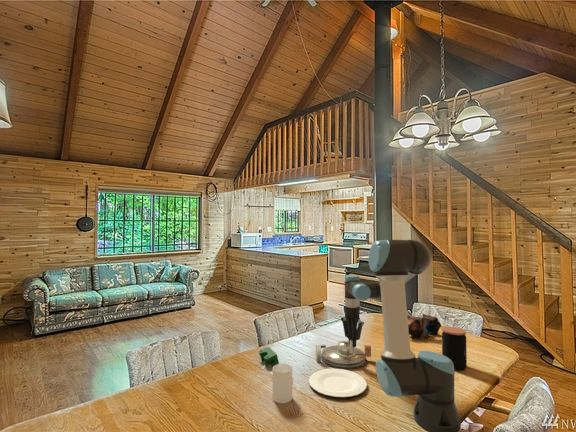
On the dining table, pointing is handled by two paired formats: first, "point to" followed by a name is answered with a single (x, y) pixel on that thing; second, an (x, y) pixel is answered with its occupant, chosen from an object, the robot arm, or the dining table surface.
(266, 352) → the clamp
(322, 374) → the plate
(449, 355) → the coffee jar
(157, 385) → the dining table surface
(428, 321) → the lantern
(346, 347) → the cover
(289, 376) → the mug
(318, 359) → the turntable base
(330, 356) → the turntable
